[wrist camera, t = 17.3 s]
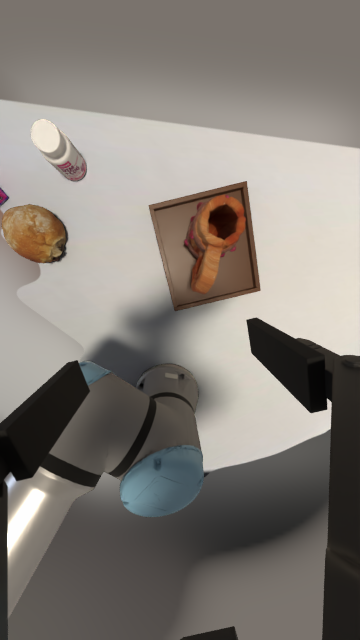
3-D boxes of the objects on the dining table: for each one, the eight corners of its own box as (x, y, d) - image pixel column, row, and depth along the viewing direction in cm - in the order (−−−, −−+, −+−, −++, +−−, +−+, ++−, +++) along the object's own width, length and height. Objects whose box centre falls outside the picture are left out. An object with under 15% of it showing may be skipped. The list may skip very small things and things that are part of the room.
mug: (192, 207, 38) (206, 168, 23) (231, 221, 38) (268, 191, 24) (172, 281, 41) (173, 288, 26) (208, 292, 42) (229, 304, 27)
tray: (256, 289, 43) (260, 290, 41) (174, 309, 43) (174, 311, 41) (242, 185, 38) (246, 181, 36) (149, 208, 38) (148, 205, 36)
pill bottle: (76, 187, 36) (49, 163, 28) (55, 167, 35) (20, 136, 27) (92, 166, 36) (69, 135, 27) (70, 144, 35) (39, 106, 27)
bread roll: (68, 215, 41) (37, 182, 33) (78, 258, 39) (47, 234, 31) (24, 231, 41) (-17, 202, 33) (32, 274, 39) (-10, 254, 31)
